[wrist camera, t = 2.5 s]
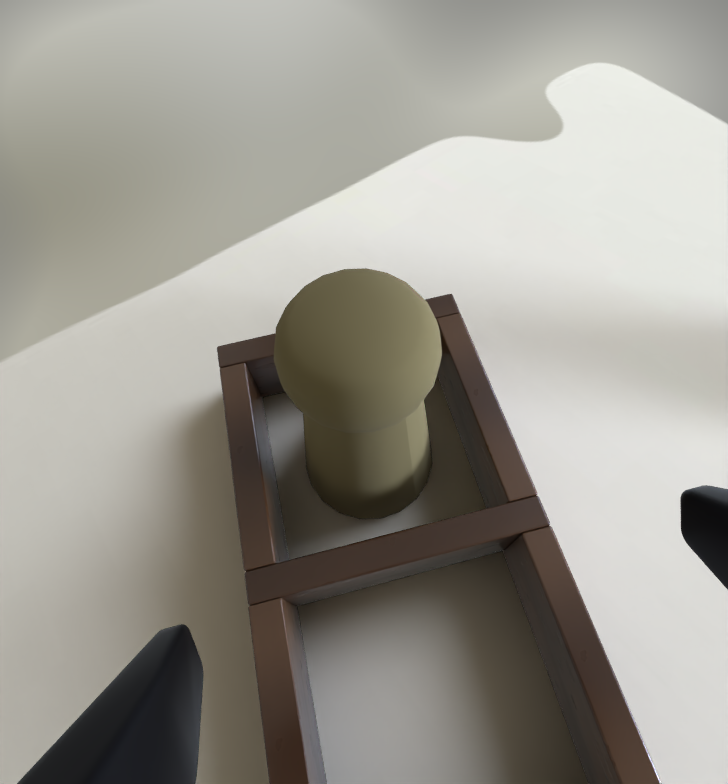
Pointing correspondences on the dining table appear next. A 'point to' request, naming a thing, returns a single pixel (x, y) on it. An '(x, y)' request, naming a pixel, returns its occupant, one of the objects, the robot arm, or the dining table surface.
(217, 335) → the dining table surface
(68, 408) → the dining table surface
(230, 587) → the dining table surface
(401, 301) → the olive pawn
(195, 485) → the dining table surface
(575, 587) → the frame
